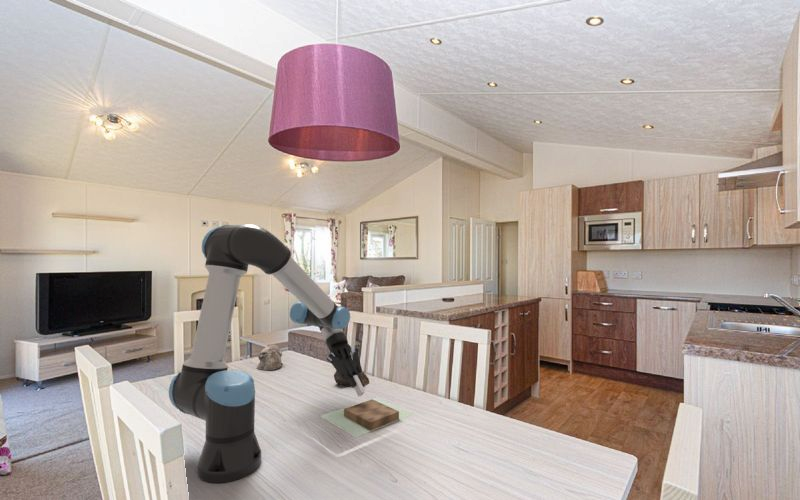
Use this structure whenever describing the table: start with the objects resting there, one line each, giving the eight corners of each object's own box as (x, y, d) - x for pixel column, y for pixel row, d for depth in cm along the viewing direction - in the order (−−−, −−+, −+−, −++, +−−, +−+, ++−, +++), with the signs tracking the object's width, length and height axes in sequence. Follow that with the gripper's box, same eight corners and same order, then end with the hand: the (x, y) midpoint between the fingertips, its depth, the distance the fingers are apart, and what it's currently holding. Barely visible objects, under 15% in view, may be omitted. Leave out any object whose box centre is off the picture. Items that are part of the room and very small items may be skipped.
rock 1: (286, 368, 183) (286, 347, 183) (259, 373, 176) (259, 351, 176) (277, 361, 195) (277, 341, 195) (252, 365, 189) (252, 344, 189)
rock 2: (362, 393, 154) (373, 385, 164) (364, 372, 154) (374, 365, 163) (331, 385, 160) (343, 378, 169) (332, 365, 159) (345, 358, 169)
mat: (355, 440, 114) (355, 437, 114) (319, 418, 129) (319, 416, 129) (412, 416, 130) (412, 414, 130) (375, 399, 145) (375, 397, 145)
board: (344, 416, 129) (370, 430, 118) (344, 408, 129) (370, 422, 118) (372, 406, 137) (398, 419, 127) (372, 399, 137) (398, 411, 127)
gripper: (344, 340, 151) (371, 394, 139) (315, 345, 142) (341, 404, 130) (353, 328, 147) (381, 383, 135) (323, 333, 138) (350, 393, 126)
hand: (361, 393), depth 132 cm, fingers closed
